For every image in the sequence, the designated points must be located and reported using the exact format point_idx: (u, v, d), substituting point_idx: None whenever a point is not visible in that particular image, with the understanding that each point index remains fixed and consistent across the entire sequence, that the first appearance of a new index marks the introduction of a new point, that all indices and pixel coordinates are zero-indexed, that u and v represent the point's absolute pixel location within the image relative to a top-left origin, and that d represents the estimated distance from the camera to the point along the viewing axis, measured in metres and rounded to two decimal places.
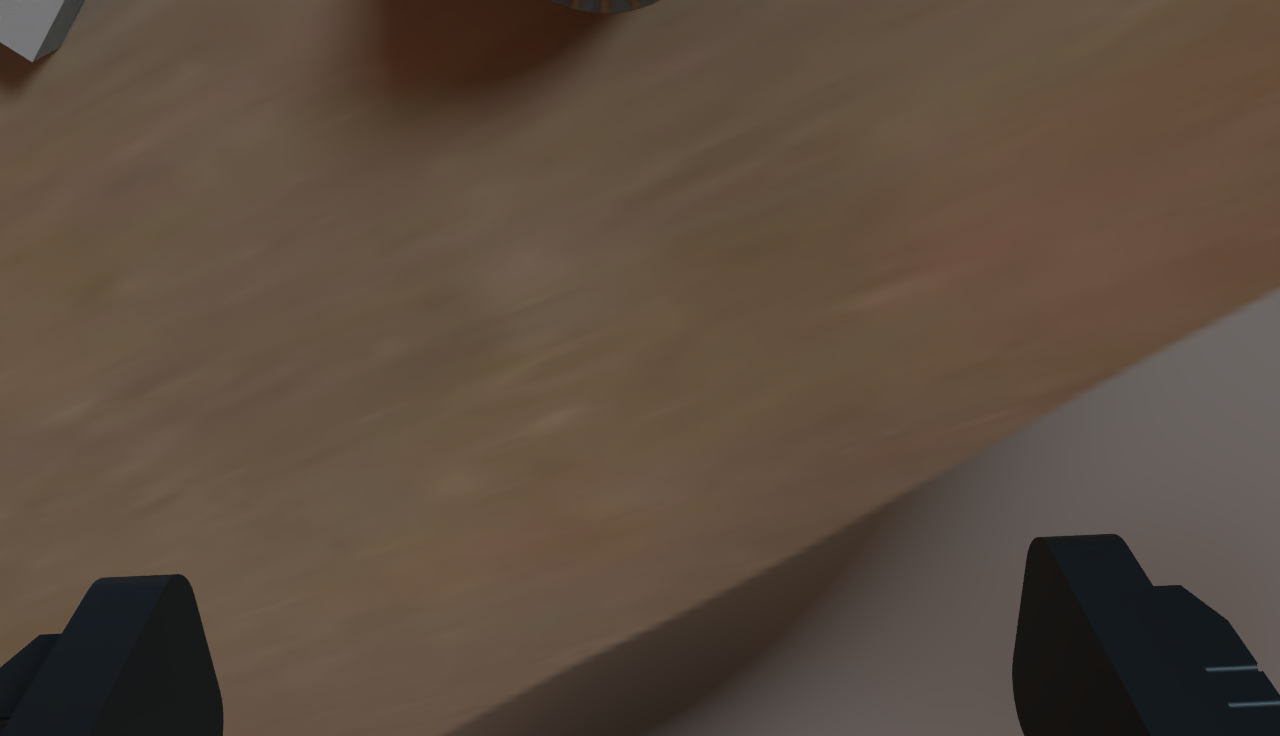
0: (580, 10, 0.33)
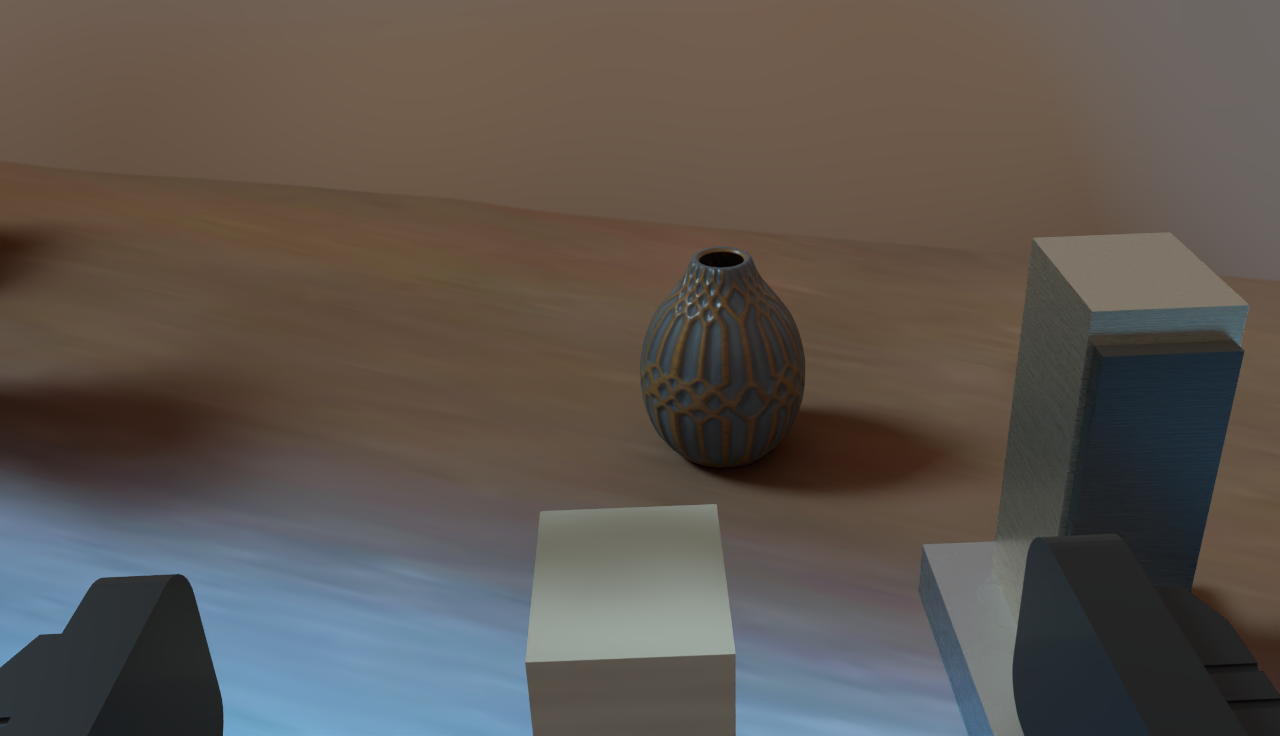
0: None
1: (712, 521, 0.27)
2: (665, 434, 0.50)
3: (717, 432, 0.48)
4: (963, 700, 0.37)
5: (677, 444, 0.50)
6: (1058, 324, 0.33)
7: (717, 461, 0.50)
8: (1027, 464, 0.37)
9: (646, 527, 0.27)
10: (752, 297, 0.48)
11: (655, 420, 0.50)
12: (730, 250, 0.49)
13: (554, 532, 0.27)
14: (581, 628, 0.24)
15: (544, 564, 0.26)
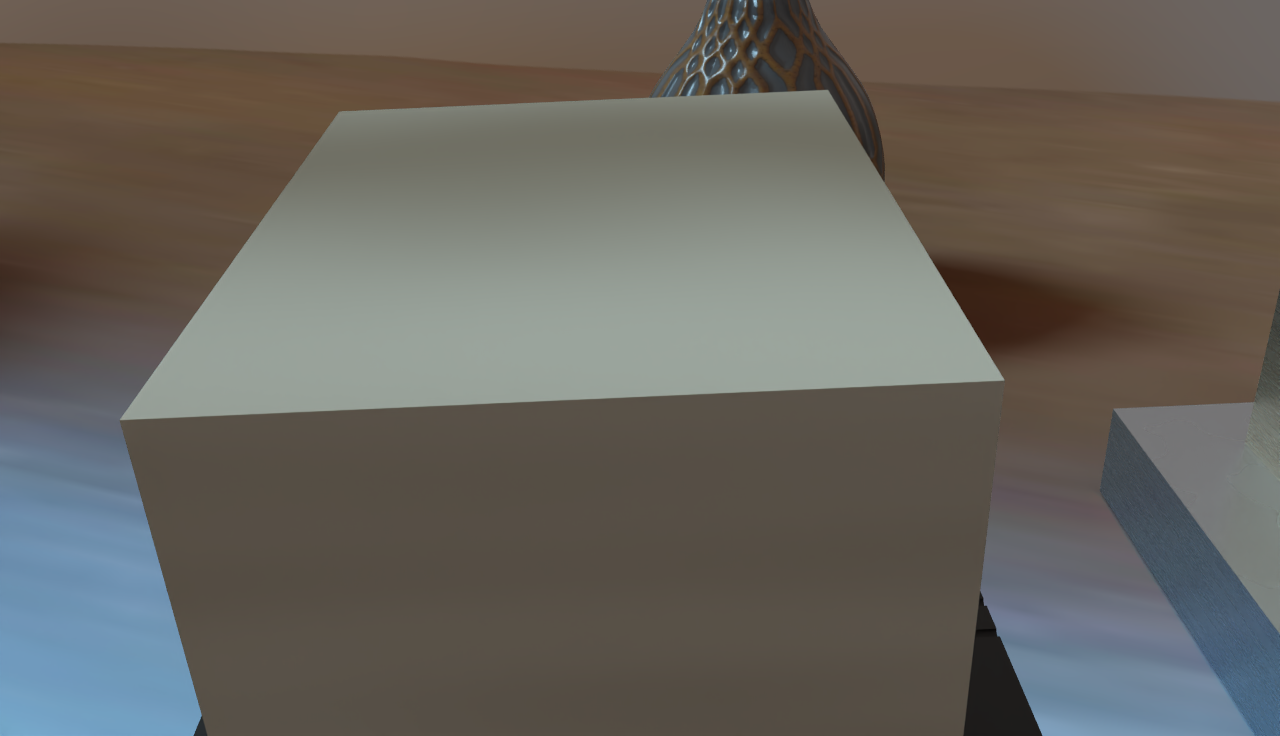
0: None
1: (823, 113, 0.09)
2: None
3: None
4: (1237, 668, 0.20)
5: None
6: None
7: None
8: None
9: (633, 126, 0.09)
10: (806, 46, 0.30)
11: None
12: None
13: (365, 140, 0.09)
14: (384, 320, 0.06)
15: (312, 192, 0.08)
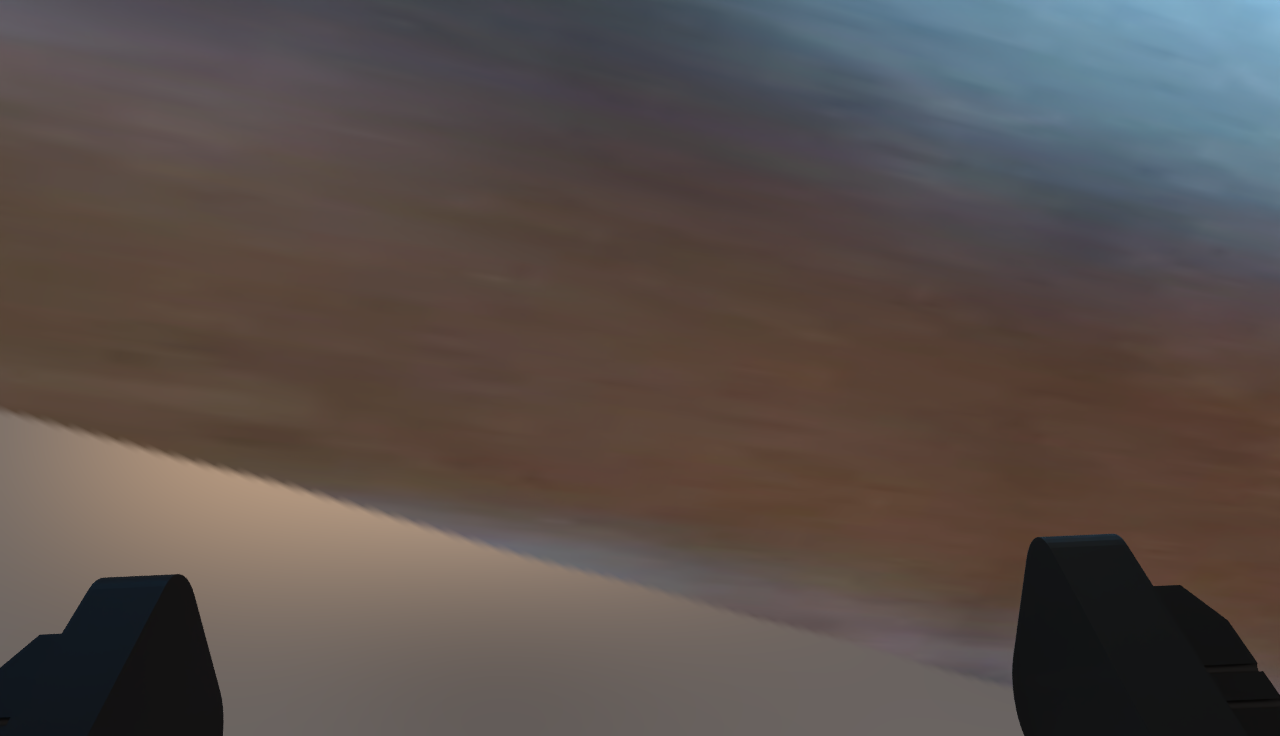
0: None
1: None
2: None
3: None
4: None
5: None
6: None
7: None
8: None
9: None
10: None
11: None
12: None
13: None
14: None
15: None
